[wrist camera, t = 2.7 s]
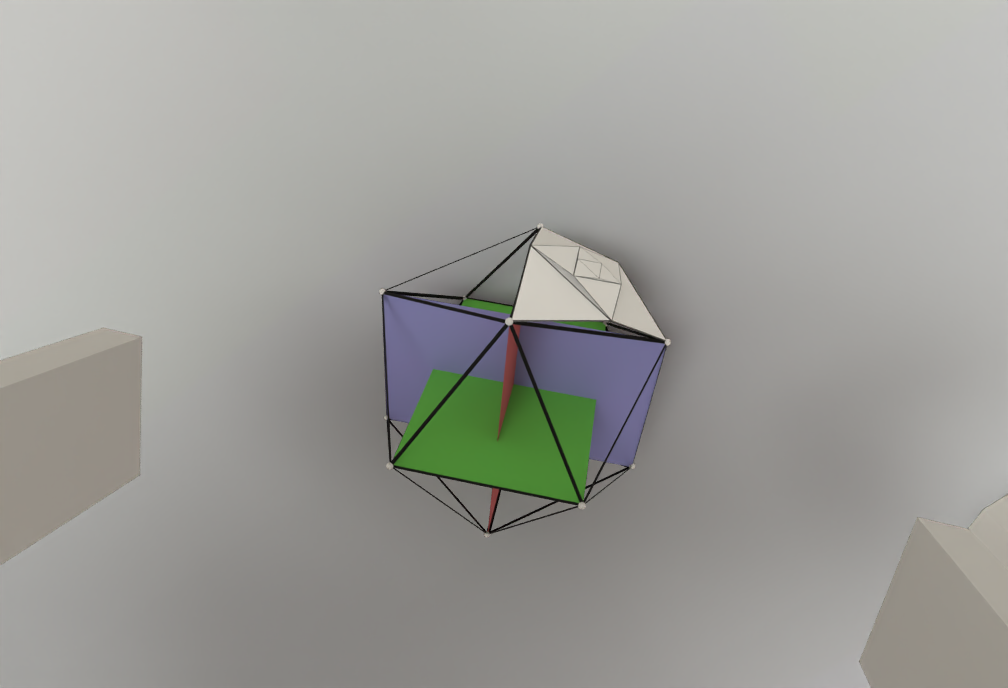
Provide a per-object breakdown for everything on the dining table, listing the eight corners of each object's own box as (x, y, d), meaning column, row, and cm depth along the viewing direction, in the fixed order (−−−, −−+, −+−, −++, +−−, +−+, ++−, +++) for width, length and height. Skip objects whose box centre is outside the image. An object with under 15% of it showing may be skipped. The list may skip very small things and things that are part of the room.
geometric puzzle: (610, 570, 19) (665, 548, 11) (376, 520, 19) (282, 467, 12) (644, 337, 21) (707, 193, 14) (435, 300, 22) (388, 144, 15)
